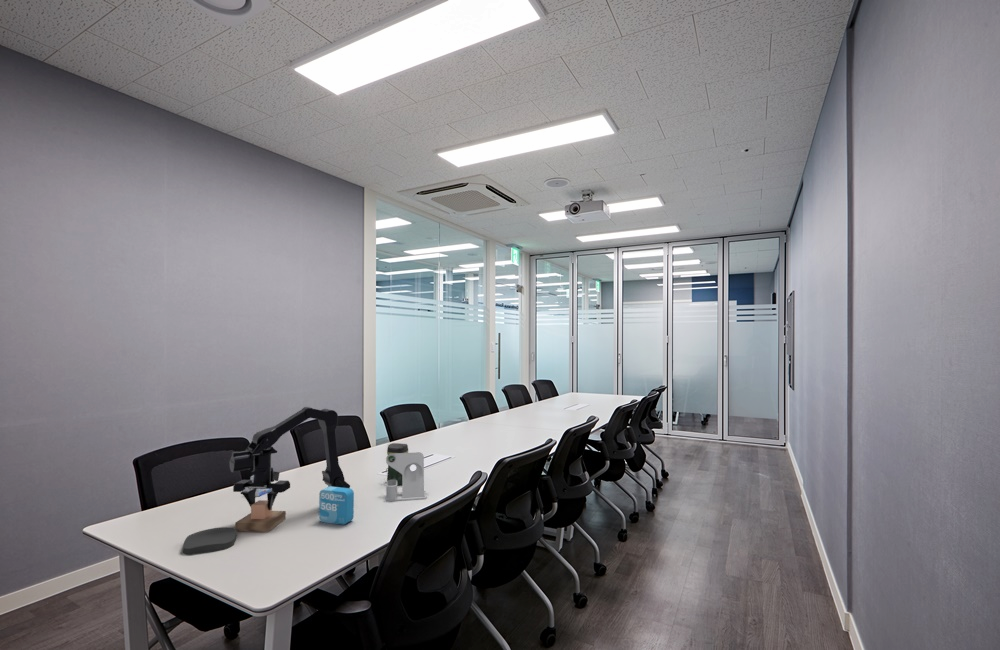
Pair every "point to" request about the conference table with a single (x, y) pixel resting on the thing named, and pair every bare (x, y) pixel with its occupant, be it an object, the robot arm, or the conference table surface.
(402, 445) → the coffee jar
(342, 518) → the data package
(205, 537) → the media streaming box
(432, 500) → the conference table surface
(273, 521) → the walnut block
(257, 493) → the medicine box
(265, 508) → the terracotta block
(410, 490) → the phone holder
